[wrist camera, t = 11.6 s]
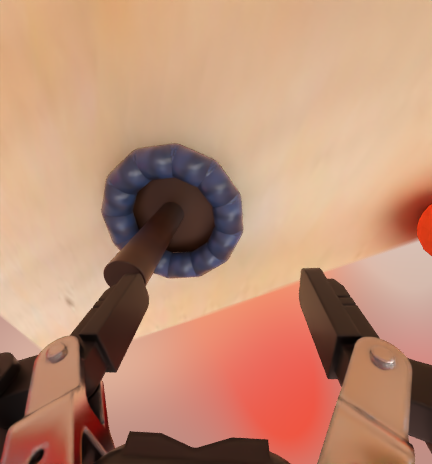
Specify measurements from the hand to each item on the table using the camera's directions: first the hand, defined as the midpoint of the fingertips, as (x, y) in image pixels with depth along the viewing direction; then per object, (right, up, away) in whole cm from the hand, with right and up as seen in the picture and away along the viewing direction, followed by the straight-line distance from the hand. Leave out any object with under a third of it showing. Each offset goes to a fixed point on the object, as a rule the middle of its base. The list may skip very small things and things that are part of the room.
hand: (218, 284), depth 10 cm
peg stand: (-4, +5, +11) cm, 13 cm away
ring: (-4, +4, +9) cm, 11 cm away
